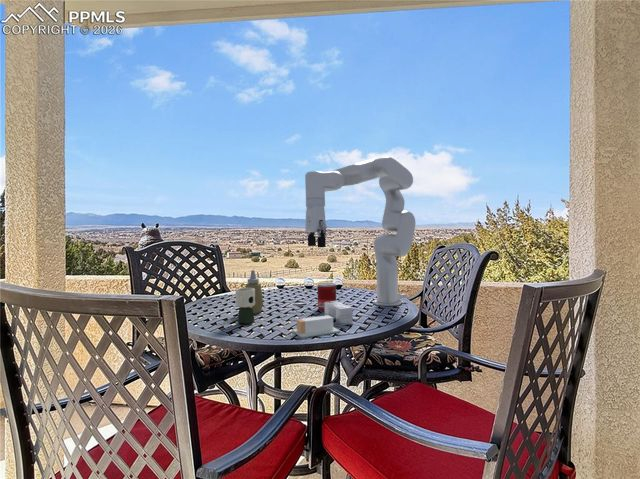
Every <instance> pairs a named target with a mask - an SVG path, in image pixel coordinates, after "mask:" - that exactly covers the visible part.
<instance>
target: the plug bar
mask: <svg viewBox="0 0 640 479" xmlns="http://www.w3.org/2000/svg"><path fill="white" fill-rule="evenodd" d="M333 327H334V319H333V317H331V316H329V315H327V316H325V315H320V316H312V317H305V318H296V329H297V331H298V332H299V333H300V334H304V333H310V332H317V331H324V330H331V329H333Z"/></svg>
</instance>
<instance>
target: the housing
mask: <svg viewBox="0 0 640 479" xmlns="http://www.w3.org/2000/svg"><path fill="white" fill-rule="evenodd" d="M324 305H325V311H324V316H327V315H329V316H331V317H333V320H335V324H337V325H338V326H347V325H353V324H354V320H353V319H354V315H353V314H354V313H353V312H354V311H353V307H352V306H350V305H347V304H345V303H342V302H340V301H337V300H336V301H330V302H324ZM335 318H336V319H335Z"/></svg>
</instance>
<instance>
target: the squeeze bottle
mask: <svg viewBox="0 0 640 479" xmlns="http://www.w3.org/2000/svg"><path fill="white" fill-rule="evenodd" d="M249 277H250V278H248V279H247V284H246V285H245V287H244V288H254V289H255V305H254V306H252V309H253V314H254V315H256V314H259V313H262V310H263V307H264V298H263V291H262V290H263V289H262V285H261V283H260V281H259V280H260V279H259V278H257V275H256V273H255V270H253V269H252V270H251V272H250V276H249Z"/></svg>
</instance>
